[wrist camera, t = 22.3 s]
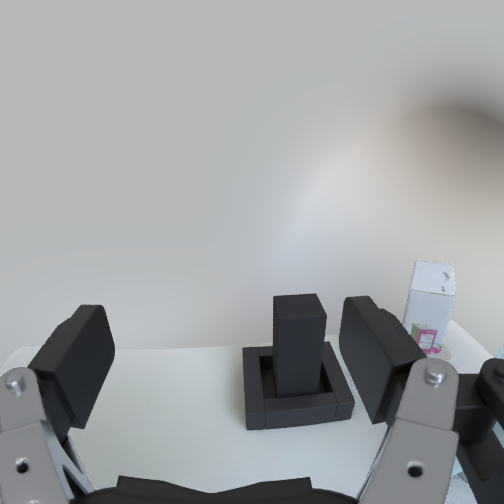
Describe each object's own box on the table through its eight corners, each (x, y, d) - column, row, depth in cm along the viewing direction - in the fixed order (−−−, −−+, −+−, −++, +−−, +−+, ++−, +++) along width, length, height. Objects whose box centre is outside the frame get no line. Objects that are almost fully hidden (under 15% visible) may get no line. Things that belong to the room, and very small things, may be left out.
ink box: (398, 340, 37) (415, 256, 33) (432, 347, 35) (454, 263, 31) (386, 381, 30) (409, 286, 26) (427, 390, 28) (459, 295, 24)
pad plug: (276, 403, 28) (278, 318, 25) (272, 377, 32) (273, 295, 29) (316, 399, 28) (327, 315, 25) (309, 373, 32) (316, 292, 29)
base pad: (246, 430, 26) (245, 413, 25) (243, 364, 35) (242, 347, 34) (350, 419, 26) (355, 401, 25) (327, 358, 35) (329, 340, 34)
